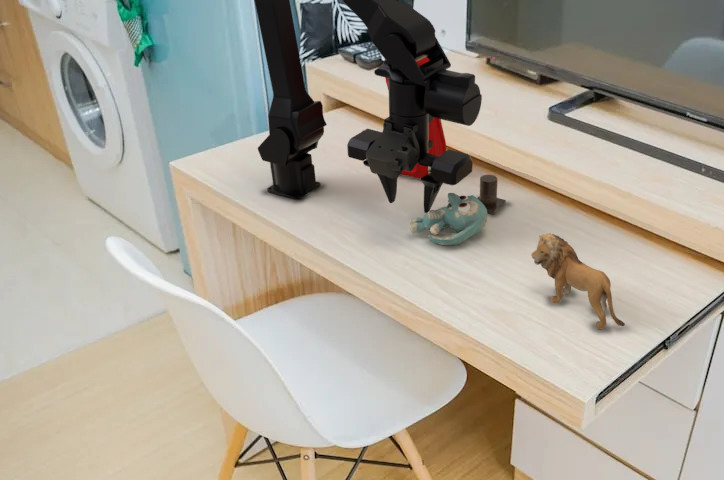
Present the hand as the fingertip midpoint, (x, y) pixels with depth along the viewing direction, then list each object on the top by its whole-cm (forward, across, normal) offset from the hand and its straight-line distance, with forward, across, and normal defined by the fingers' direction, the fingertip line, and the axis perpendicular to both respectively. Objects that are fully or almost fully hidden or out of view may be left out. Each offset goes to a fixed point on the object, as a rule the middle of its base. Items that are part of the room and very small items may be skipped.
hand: (409, 207), depth 123 cm
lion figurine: (+2, +32, -10) cm, 33 cm away
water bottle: (+3, -9, +16) cm, 19 cm away
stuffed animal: (+2, +7, 0) cm, 8 cm away
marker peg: (+2, +8, +11) cm, 14 cm away
